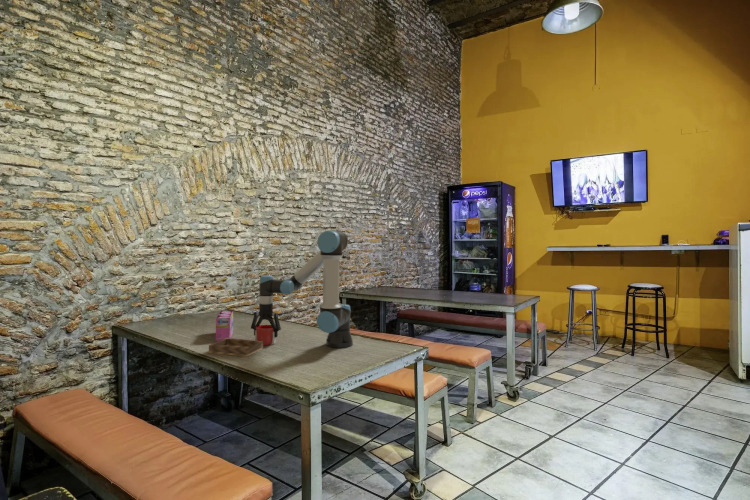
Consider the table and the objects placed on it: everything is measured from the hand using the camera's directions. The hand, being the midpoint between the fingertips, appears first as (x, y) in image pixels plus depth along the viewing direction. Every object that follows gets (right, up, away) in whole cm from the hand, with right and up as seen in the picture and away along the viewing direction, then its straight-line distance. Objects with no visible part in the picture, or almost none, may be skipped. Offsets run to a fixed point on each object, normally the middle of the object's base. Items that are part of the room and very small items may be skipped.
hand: (265, 342), depth 237 cm
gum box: (-28, 0, +14) cm, 32 cm away
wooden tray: (-11, -1, -16) cm, 19 cm away
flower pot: (0, -1, 0) cm, 1 cm away
